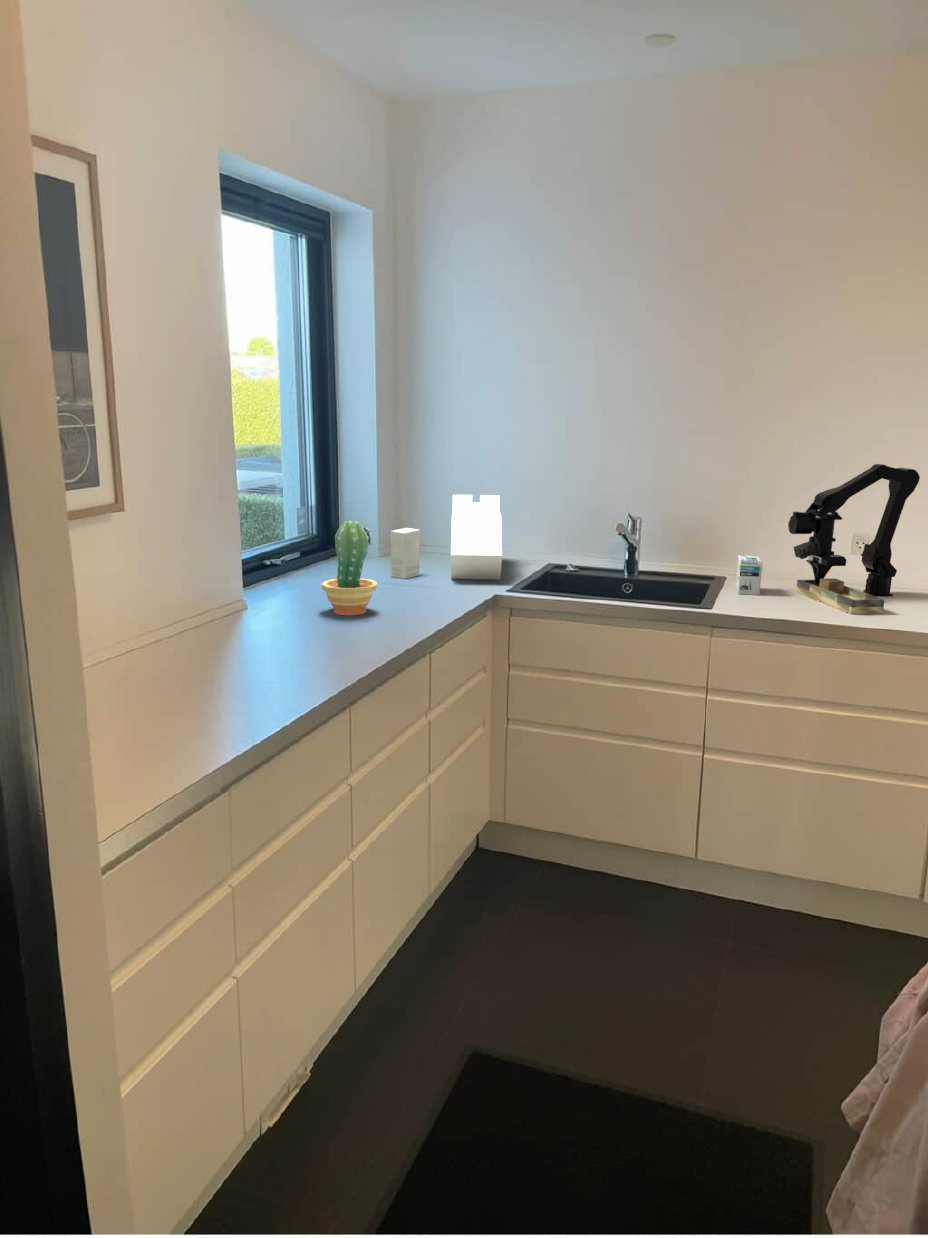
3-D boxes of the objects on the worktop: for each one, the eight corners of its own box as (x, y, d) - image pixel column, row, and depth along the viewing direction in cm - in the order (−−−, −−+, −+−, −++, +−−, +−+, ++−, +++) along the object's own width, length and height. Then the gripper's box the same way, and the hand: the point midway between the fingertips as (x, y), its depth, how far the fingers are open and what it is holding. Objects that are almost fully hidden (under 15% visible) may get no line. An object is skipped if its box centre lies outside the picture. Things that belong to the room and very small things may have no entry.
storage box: (502, 555, 291) (501, 470, 310) (450, 554, 291) (452, 469, 310) (498, 600, 314) (497, 518, 332) (450, 599, 314) (452, 517, 332)
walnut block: (833, 591, 283) (835, 578, 282) (842, 594, 278) (844, 581, 277) (818, 591, 282) (820, 578, 281) (827, 595, 277) (829, 581, 276)
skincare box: (405, 573, 311) (405, 527, 307) (421, 575, 307) (421, 529, 303) (389, 577, 304) (389, 530, 301) (405, 579, 301) (405, 532, 297)
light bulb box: (760, 595, 284) (763, 561, 282) (737, 594, 286) (740, 560, 283) (756, 588, 295) (759, 555, 292) (734, 587, 296) (737, 554, 293)
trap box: (825, 591, 292) (826, 579, 291) (882, 613, 263) (884, 599, 262) (796, 592, 290) (797, 579, 289) (850, 614, 261) (852, 600, 260)
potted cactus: (383, 616, 250) (382, 524, 244) (326, 619, 246) (324, 526, 240) (372, 604, 265) (371, 517, 259) (318, 606, 260) (316, 518, 254)
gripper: (783, 530, 290) (778, 578, 294) (815, 539, 273) (810, 590, 276) (816, 529, 292) (811, 578, 296) (849, 538, 275) (844, 589, 278)
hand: (817, 583), depth 287 cm, fingers closed
